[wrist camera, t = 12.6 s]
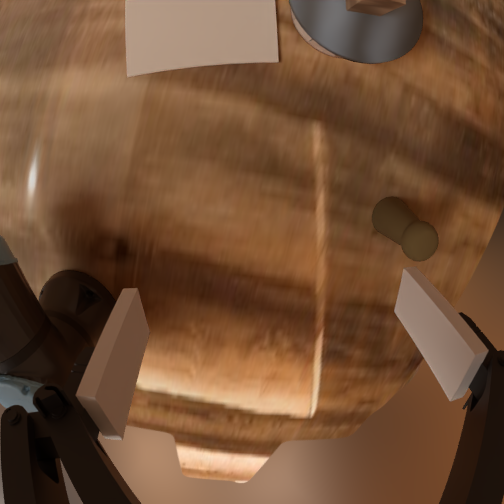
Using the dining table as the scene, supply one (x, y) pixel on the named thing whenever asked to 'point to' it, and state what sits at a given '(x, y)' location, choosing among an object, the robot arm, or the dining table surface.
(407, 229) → the cork
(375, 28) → the lid
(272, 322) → the dining table surface
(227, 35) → the mat
